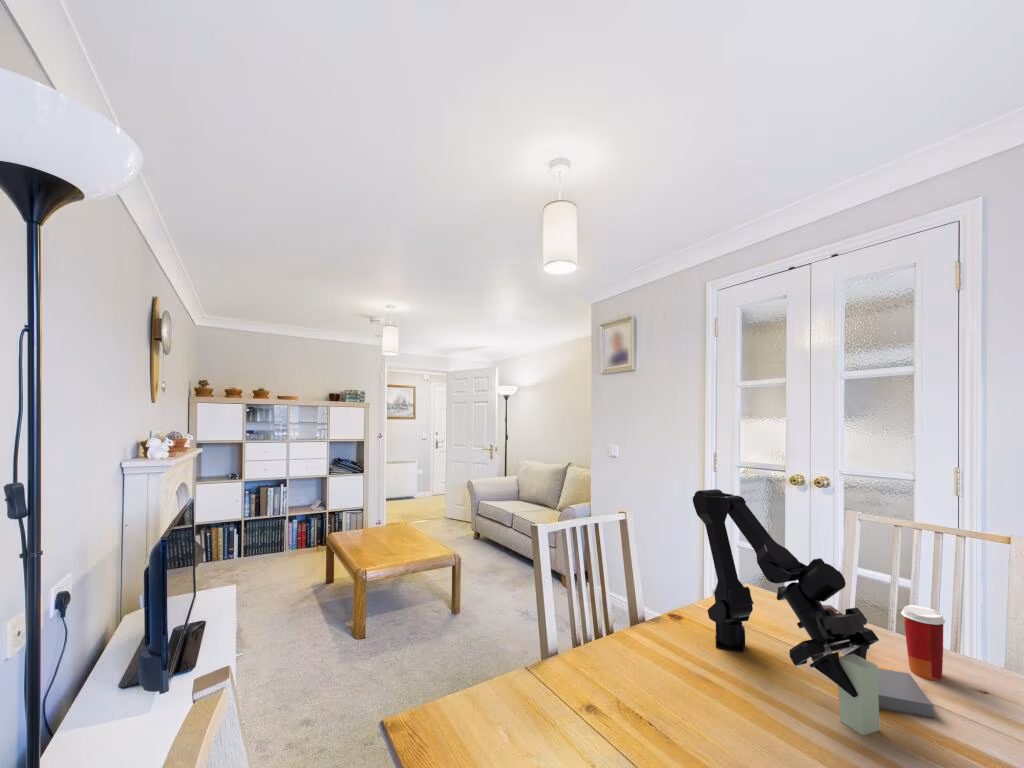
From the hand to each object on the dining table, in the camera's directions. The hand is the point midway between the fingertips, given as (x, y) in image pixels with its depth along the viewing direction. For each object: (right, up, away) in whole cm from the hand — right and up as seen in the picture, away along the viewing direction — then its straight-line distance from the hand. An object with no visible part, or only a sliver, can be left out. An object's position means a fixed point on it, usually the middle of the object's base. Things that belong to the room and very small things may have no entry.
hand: (865, 694), depth 91 cm
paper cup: (+28, -8, +19) cm, 34 cm away
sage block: (0, -7, +1) cm, 7 cm away
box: (+16, -9, +36) cm, 41 cm away
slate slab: (+12, -7, +11) cm, 18 cm away
